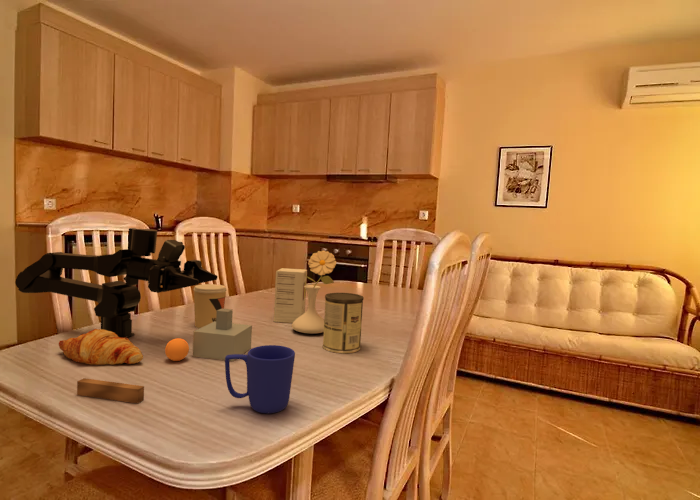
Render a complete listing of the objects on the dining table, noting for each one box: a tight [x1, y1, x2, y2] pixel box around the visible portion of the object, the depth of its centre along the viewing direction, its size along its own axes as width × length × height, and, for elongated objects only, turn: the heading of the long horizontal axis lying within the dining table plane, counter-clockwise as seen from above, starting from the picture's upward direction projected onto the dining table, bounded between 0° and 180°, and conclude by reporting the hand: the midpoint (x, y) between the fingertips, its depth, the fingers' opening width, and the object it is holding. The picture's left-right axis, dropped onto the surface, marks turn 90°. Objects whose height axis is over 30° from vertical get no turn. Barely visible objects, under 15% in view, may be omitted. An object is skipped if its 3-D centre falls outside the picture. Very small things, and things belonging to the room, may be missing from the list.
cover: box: [192, 308, 253, 362], centre depth 100 cm, size 10×10×10 cm
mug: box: [224, 344, 296, 414], centre depth 72 cm, size 8×12×10 cm
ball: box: [164, 337, 190, 362], centre depth 92 cm, size 5×5×5 cm
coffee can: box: [322, 292, 364, 354], centre depth 109 cm, size 10×10×14 cm
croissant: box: [58, 328, 144, 366], centre depth 91 cm, size 21×10×8 cm, turn 80°
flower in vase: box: [291, 250, 337, 335], centre depth 122 cm, size 13×11×25 cm
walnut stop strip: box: [76, 377, 145, 404], centre depth 72 cm, size 12×2×2 cm, turn 81°
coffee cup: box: [193, 283, 227, 329], centre depth 123 cm, size 9×9×12 cm
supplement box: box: [273, 267, 308, 324], centre depth 136 cm, size 10×9×17 cm
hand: (208, 280), depth 102 cm, fingers open, 9 cm apart
